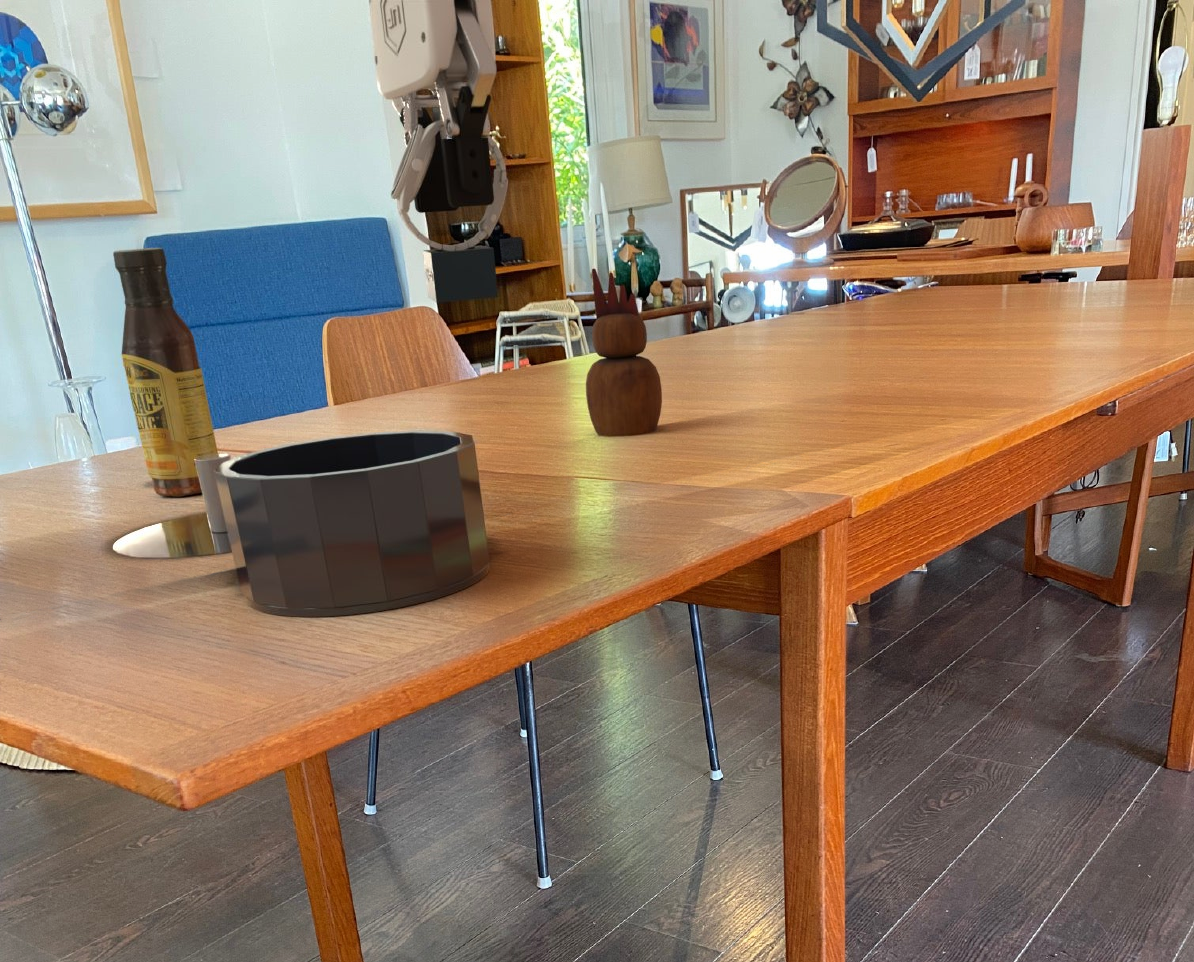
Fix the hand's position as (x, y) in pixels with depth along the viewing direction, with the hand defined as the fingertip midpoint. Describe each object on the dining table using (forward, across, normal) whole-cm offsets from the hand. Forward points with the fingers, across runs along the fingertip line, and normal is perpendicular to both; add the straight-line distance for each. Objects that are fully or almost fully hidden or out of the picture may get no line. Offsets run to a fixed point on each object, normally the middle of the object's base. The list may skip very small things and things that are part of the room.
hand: (454, 205), depth 81 cm
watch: (+6, 0, 0) cm, 6 cm away
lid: (+20, -2, -19) cm, 28 cm away
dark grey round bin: (+20, +16, -16) cm, 30 cm away
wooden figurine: (+20, -13, +21) cm, 32 cm away
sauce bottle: (+21, -28, -16) cm, 38 cm away
